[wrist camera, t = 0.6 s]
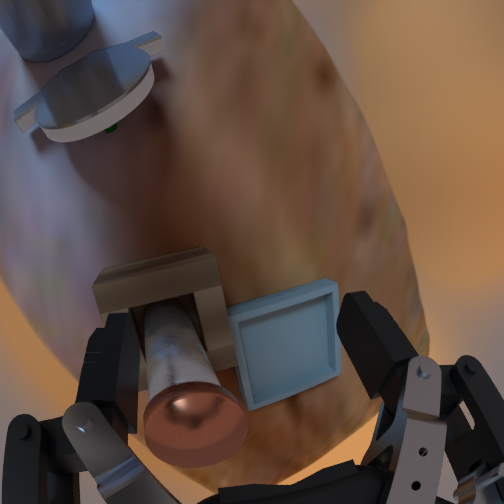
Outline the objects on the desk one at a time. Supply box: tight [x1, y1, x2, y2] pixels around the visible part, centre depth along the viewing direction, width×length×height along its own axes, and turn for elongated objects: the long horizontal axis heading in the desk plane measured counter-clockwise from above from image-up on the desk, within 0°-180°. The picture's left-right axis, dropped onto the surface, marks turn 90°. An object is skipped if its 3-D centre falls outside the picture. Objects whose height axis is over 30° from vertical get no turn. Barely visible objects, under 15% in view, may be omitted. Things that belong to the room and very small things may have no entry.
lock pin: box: [143, 298, 249, 468], centre depth 18 cm, size 5×5×15 cm
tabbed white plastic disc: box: [14, 31, 164, 142], centre depth 20 cm, size 15×8×11 cm
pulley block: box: [92, 247, 238, 392], centre depth 26 cm, size 12×10×6 cm
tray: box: [226, 278, 341, 411], centre depth 32 cm, size 13×13×2 cm
